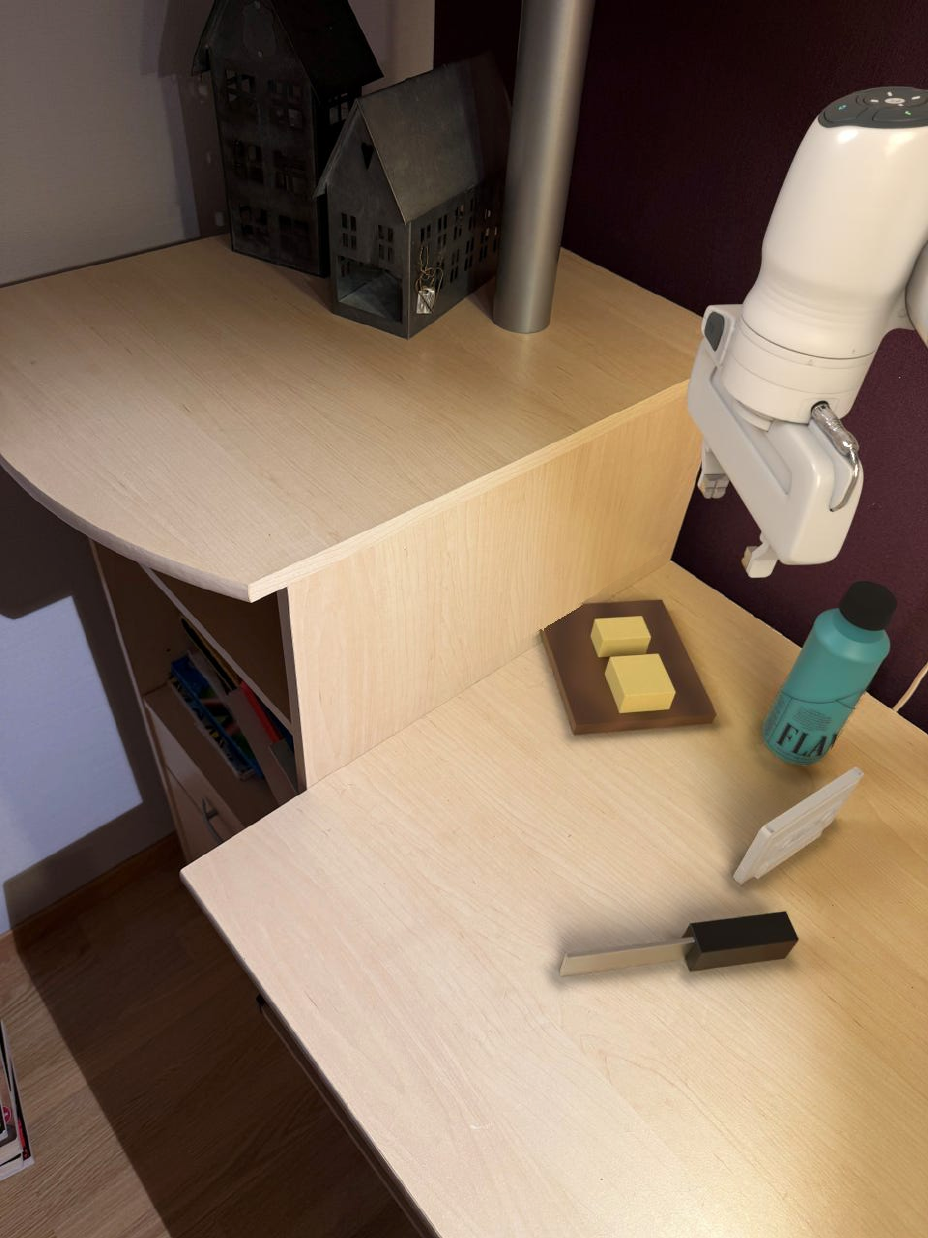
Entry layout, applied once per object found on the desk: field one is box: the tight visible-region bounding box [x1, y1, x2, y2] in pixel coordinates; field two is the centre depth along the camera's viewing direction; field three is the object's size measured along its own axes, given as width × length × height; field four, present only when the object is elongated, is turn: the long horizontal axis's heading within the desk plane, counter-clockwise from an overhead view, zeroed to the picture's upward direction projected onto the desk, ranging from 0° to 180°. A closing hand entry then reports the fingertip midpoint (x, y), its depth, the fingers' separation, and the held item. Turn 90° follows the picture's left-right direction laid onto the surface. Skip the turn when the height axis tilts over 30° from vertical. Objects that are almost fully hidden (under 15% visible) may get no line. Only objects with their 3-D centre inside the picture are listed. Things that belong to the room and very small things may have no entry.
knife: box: [559, 910, 800, 977], centre depth 69 cm, size 18×2×3 cm, turn 100°
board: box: [538, 599, 717, 736], centre depth 91 cm, size 14×16×2 cm
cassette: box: [732, 765, 865, 886], centre depth 75 cm, size 12×2×8 cm, turn 124°
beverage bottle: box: [761, 580, 898, 767], centre depth 79 cm, size 6×7×20 cm
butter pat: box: [591, 616, 651, 657], centre depth 91 cm, size 5×3×2 cm, turn 100°
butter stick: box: [605, 654, 676, 713], centre depth 87 cm, size 5×5×2 cm
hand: (730, 530), depth 69 cm, fingers open, 8 cm apart
